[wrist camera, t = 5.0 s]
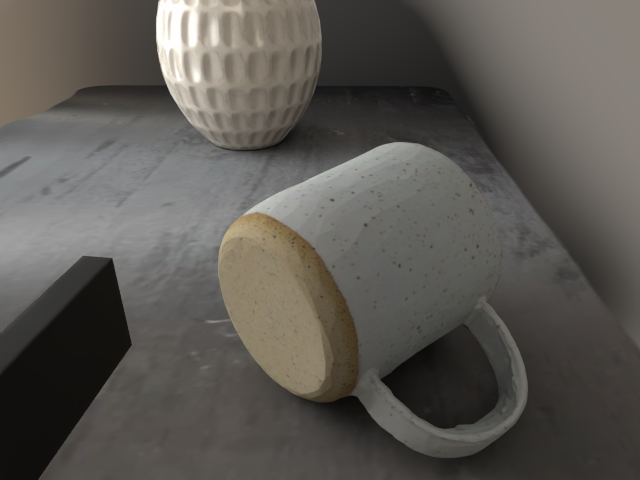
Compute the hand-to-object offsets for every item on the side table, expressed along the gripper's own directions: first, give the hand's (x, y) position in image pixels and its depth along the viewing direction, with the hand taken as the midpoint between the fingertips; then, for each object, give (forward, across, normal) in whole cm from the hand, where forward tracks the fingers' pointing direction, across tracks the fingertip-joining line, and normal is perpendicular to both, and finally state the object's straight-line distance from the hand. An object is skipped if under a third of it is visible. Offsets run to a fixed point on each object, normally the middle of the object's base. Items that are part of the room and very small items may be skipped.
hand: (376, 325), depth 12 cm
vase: (+32, -12, -6) cm, 35 cm away
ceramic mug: (+6, 0, -6) cm, 9 cm away
